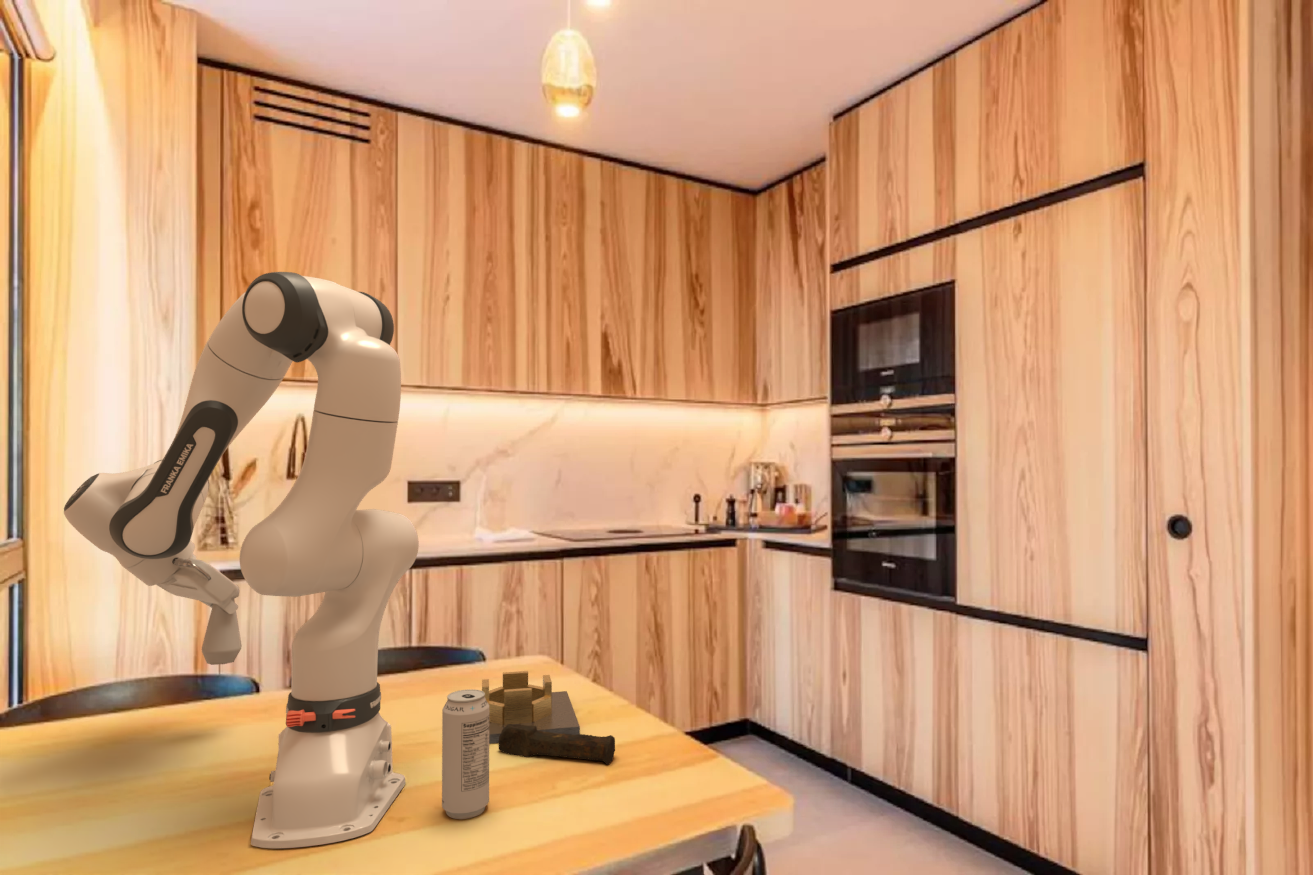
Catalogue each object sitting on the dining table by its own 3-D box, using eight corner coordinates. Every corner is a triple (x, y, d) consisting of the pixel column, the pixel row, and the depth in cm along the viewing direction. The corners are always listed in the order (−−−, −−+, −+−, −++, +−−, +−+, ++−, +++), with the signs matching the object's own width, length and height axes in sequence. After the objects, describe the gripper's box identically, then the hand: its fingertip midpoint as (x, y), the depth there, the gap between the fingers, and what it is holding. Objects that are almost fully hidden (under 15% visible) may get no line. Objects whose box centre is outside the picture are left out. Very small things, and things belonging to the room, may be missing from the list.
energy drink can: (470, 795, 101) (471, 685, 102) (498, 808, 98) (498, 693, 98) (432, 811, 97) (433, 696, 97) (460, 825, 93) (460, 705, 93)
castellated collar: (579, 735, 124) (579, 693, 124) (456, 746, 119) (456, 702, 119) (566, 698, 143) (566, 662, 143) (460, 707, 138) (460, 669, 139)
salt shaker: (209, 667, 121) (213, 587, 122) (195, 662, 124) (199, 584, 125) (247, 661, 125) (250, 584, 126) (231, 656, 129) (235, 581, 130)
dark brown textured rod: (617, 758, 115) (617, 727, 115) (609, 768, 111) (608, 736, 111) (507, 747, 120) (507, 718, 120) (495, 756, 116) (495, 726, 116)
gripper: (205, 545, 114) (270, 599, 122) (155, 540, 127) (216, 589, 134) (173, 578, 110) (241, 631, 118) (124, 569, 123) (189, 618, 130)
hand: (227, 609), depth 126 cm, fingers closed on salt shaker, 3 cm apart
